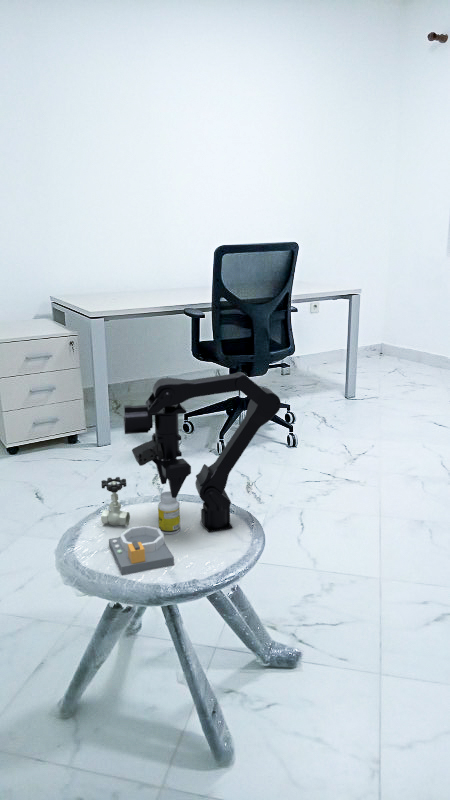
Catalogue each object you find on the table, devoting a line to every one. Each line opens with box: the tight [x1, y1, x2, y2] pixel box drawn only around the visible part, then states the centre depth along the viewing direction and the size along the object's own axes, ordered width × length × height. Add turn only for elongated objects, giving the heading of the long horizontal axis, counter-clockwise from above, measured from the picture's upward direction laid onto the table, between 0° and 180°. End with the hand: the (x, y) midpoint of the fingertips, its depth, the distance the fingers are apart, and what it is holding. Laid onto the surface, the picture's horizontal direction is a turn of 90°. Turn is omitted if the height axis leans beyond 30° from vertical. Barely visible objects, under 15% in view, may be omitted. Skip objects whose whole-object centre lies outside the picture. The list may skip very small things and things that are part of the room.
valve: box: [100, 476, 131, 527], centre depth 161 cm, size 7×7×12 cm
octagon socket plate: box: [108, 525, 175, 576], centre depth 147 cm, size 12×14×4 cm
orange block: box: [128, 541, 145, 564], centre depth 141 cm, size 3×4×4 cm
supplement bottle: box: [157, 490, 181, 535], centre depth 159 cm, size 5×5×10 cm
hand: (168, 490), depth 157 cm, fingers open, 9 cm apart
